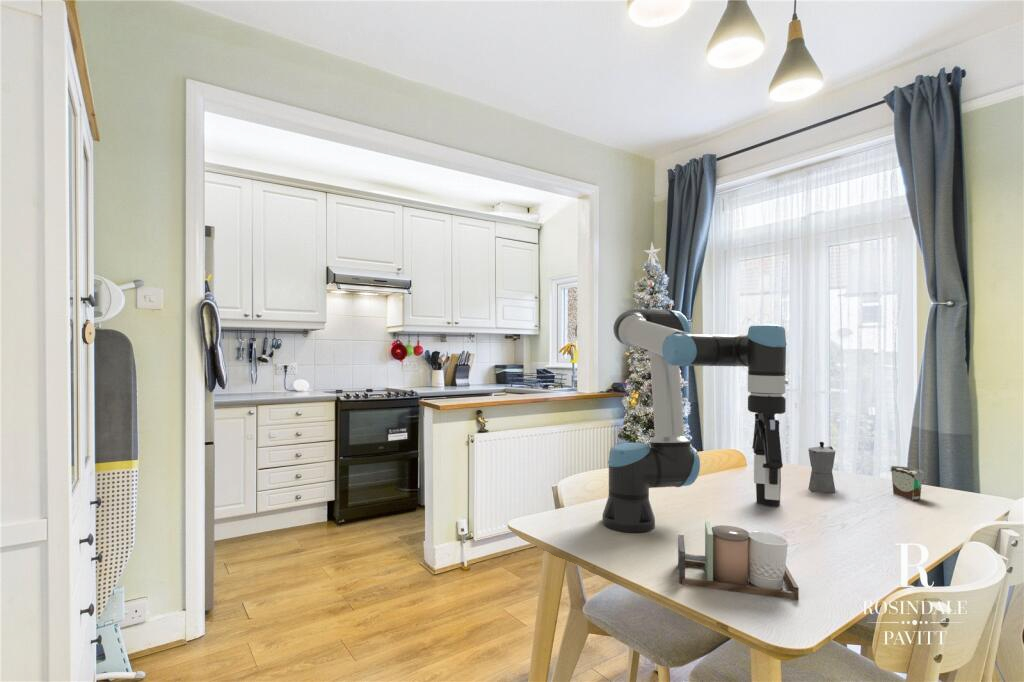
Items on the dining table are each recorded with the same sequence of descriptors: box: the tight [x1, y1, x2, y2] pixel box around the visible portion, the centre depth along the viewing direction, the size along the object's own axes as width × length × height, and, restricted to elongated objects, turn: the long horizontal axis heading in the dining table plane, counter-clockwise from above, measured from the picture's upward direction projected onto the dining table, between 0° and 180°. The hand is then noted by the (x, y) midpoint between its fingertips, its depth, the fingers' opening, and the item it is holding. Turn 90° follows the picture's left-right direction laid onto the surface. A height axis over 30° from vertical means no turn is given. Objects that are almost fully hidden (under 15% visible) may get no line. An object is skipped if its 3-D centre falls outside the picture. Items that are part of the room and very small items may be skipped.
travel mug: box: [755, 468, 782, 507], centre depth 175 cm, size 8×8×20 cm
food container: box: [889, 465, 925, 502], centre depth 184 cm, size 12×6×10 cm, turn 179°
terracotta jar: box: [711, 525, 750, 586], centre depth 115 cm, size 8×8×11 cm
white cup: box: [748, 531, 789, 590], centre depth 113 cm, size 8×8×10 cm
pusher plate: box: [685, 521, 714, 581], centre depth 118 cm, size 7×9×11 cm
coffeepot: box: [807, 441, 837, 494], centre depth 194 cm, size 15×9×18 cm, turn 125°
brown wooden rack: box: [677, 534, 800, 601], centre depth 115 cm, size 23×12×7 cm, turn 73°
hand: (766, 490), depth 114 cm, fingers open, 13 cm apart
